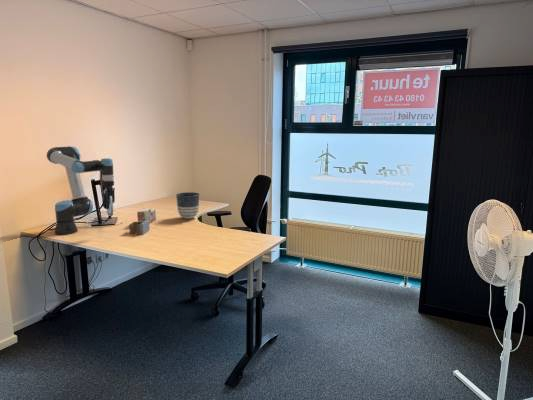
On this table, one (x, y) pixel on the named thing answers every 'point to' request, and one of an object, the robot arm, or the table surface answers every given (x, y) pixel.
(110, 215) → the dowel
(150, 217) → the stack of blocks
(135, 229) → the slider block
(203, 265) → the table surface
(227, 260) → the table surface
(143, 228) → the wall
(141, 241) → the table surface
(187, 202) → the planter
